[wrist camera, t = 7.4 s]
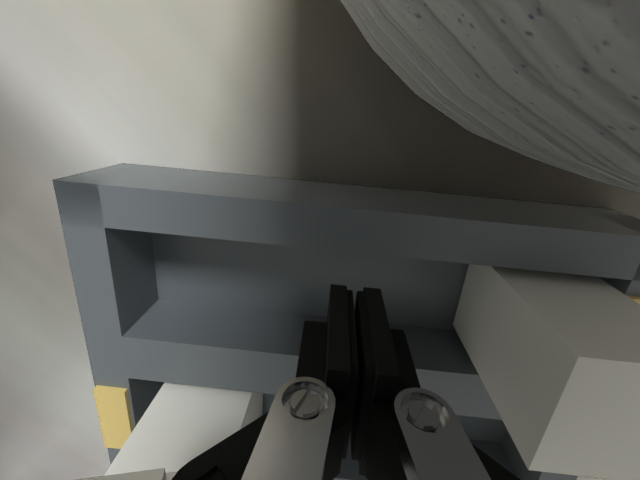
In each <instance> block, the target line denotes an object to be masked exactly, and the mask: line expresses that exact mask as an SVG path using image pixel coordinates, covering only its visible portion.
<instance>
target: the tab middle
mask: <svg viewBox="0 0 640 480" xmlns="http://www.w3.org/2000/svg"><path fill="white" fill-rule="evenodd" d="M262 409H263V393H256V392H247V391H238V390H229V389H220V388H211V387H202V386H193V385H184V384H175V383H166V382H164V384H163V386H162V387H161V389H160V390H159V392H158V393H157V395H156V396H155V398H154V399H153V401H152V402H151V404H150V405H149V407H148V408H147V410H146V411H145V413H144V415H143V416H142V418H141V419H140V421H139V422H138V424H137V425H136V427H135V428H134V430H133V431H132V433H131V434H130V436H129V437H128V439H127V441H126V442H125V444H124V445H123V447H122V448H121V450H120V451H119V453H118V454H117V456H116V457H115V459H114V460H113V462H112V463H111V465H110V467H109V468H108V470H107V471H106V473H105V474H104V476H107V475H114V474H122V473H129V472H137V471H145V470H152V469H160V468H165V472H166V473H170V472H177V471H179V469H180V468H182V467H183V466H184V465H185V464H187V463H188V462H189V461H191V460H192V459H194V458H195V457H197V456H199V455H200V454H202V453H203V452H205V451H207V450H208V449H210V448H211V447H213V446H215V445H216V444H218V443H219V442H221V441H222V440H224V439H226V438H227V437H229V436H230V435H232V434H234V433H235V432H237V431H238V430H240V429H242V428H243V427H245V426H246V425H248V424H250V423H251V422H253V421H254V420H256V419H258V418H259V417H261V416H262Z"/></svg>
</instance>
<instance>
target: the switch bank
mask: <svg viewBox="0 0 640 480" xmlns="http://www.w3.org/2000/svg"><path fill="white" fill-rule="evenodd" d="M53 184H54V189H55V194H56V198H57V203H58V208H59V213H60V218H61V223H62V228H63V233H64V237H65V242H66V247H67V252H68V257H69V262H70V267H71V272H72V277H73V281H74V286H75V291H76V296H77V301H78V306H79V311H80V316H81V320H82V325H83V330H84V335H85V340H86V345H87V350H88V355H89V360H90V364H91V369H92V374H93V379H94V384H95V388H94V389H93V391H94V396H95V400H96V405H97V410H98V415H99V420H100V424H101V429H102V434H103V439H104V444H105V447H107V448H108V452H109V457H110V462H111V463H112V462H113V460H114V459H115V457H116V456H117V454H118V453H119V451H120V450H121V448H122V447H123V445H124V444H125V442H126V441H127V439H128V437H129V436H130V434H131V433H132V431H133V430H134V428H135V427H136V425H137V424H138V422H139V421H140V419H141V418H142V416H143V415H144V413H145V411H146V410H147V408H148V407H149V405H150V404H151V402H152V401H153V399H154V398H155V396H156V395H157V393H158V392H159V390H160V389H161V387H162V386H163V384H164V382H166V383H175V384H184V385H193V386H202V387H211V388H220V389H229V390H238V391H247V392H256V393H263V409H262V415H264V414H266V413H267V412H269V410H270V408H271V405H272V403H273V401H274V398H275V396H276V393H277V391H278V390H279V388H280V387H281V386H282V385H283V384H284V383H285V382H287V381H289V380H291V379H293V378H296V372H297V365H298V359H299V352H300V346H301V339H302V333H303V326H304V321H305V320H307V321H317V322H327V314H328V304H329V294H330V285H331V284H335V285H346V286H347V290H353V301H354V309H355V302H356V295H357V291H363V288H364V287H367V288H378V289H381V293H382V297H383V301H384V306H385V310H386V314H387V318H388V323H389V327H390V329H401V330H403V331H404V333H405V336H406V339H407V342H408V346H409V349H410V353H411V356H412V359H413V363H414V366H415V370H416V373H417V376H418V380H419V383H420V387H421V388H423V389H426V390H429V391H432V392H434V393H435V394H437V395H439V396H440V397H442V398H443V399H444V400H445V401H446V402H447V403H448V404H449V405H450V407H451V408H452V409H453V411H454V413H455V415H456V416H457V418H458V420H459V422H460V424H461V426H462V427H463V429H464V431H465V433H466V435H467V436H468V438H469V440H470V442H471V443H472V444H473V445H475V446H476V447H477V448H479V449H480V450H481V451H483V452H484V453H485V454H487V455H488V456H489V457H491V458H492V459H493V460H495V461H496V462H497V463H499V464H500V465H501V466H503V467H504V468H505V469H507V470H508V471H509V472H511V473H512V474H513V475H515V476H516V477H517V478H519V479H520V480H576V479H577V477H578V476H575V475H567V474H558V473H549V472H541V471H532V470H528V469H527V467H526V465H525V463H524V461H523V459H522V457H521V455H520V453H519V451H518V449H517V447H516V445H515V444H514V442H513V440H512V438H511V436H510V434H509V432H508V430H507V428H506V426H505V424H504V422H503V420H502V419H501V417H500V415H499V413H498V411H497V409H496V407H495V405H494V403H493V401H492V399H491V397H490V395H489V393H488V392H487V390H486V388H485V386H484V384H483V382H482V380H481V378H480V376H479V374H478V372H477V370H476V368H475V367H474V365H473V363H472V361H471V359H470V357H469V355H468V353H467V351H466V349H465V347H464V345H463V343H462V342H461V340H460V338H459V336H458V334H457V332H456V330H455V328H454V326H453V322H454V318H455V314H456V311H457V307H458V303H459V299H460V296H461V292H462V288H463V284H464V281H465V277H466V273H467V269H468V266H469V264H474V265H484V266H494V267H504V268H514V269H524V270H535V271H545V272H555V273H565V274H575V275H585V276H595V277H599V278H600V279H602V280H603V281H605V282H606V283H608V284H610V285H611V286H613V287H614V288H616V289H617V290H619V291H620V292H622V293H623V294H625V295H627V296H628V297H630V298H631V299H633V300H634V301H636V302H637V303H639V304H640V220H639V219H637V218H634V217H631V216H628V215H626V214H623V213H620V212H617V211H615V210H612V209H603V208H592V207H582V206H571V205H560V204H550V203H539V202H528V201H518V200H507V199H497V198H486V197H475V196H465V195H454V194H443V193H433V192H422V191H411V190H401V189H390V188H379V187H369V186H358V185H348V184H337V183H326V182H316V181H305V180H294V179H284V178H273V177H262V176H252V175H241V174H231V173H220V172H209V171H199V170H188V169H177V168H167V167H156V166H145V165H135V164H124V163H122V164H118V165H113V166H109V167H105V168H101V169H97V170H92V171H88V172H84V173H80V174H76V175H71V176H67V177H63V178H59V179H54V180H53ZM333 480H368V479H367V478H366V477H365V475H359V464H358V461H357V460H352V459H351V441H350V436H349V442H348V448H347V455H346V459H342V462H341V468H340V474H339V475H337V476H336V477H335V478H334V479H333Z"/></svg>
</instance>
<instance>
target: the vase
mask: <svg viewBox="0 0 640 480" xmlns="http://www.w3.org/2000/svg"><path fill="white" fill-rule="evenodd" d="M340 1H341V2H342V4H343V5H344V7H345V8H346V10H347V11H348V13H349V14H350V16H351V17H352V19H353V20H354V22H355V24H356V25H357V27H358V28H359V30H360V31H361V33H362V34H363V36H364V37H365V39H366V40H367V42H368V43H369V45H370V46H371V48H372V49H373V50H374V51H375V52H376V53H377V54H378V55H379V56H380V58H381V59H382V60H383V61H384V62H385V63H386V64H387V65H388V66H389V67H390V68H391V69H392V70H393V71H394V72H395V73H396V74H397V75H398V76H399V77H400V78H401V79H402V80H403V82H404V83H405V84H406V85H407V86H408V87H409V88H410V89H411V90H412V91H413V92H414V93H415V94H416V95H418V96H419V97H421V98H422V99H423V100H425V101H426V102H428V103H429V104H431V105H432V106H433V107H435V108H436V109H438V110H439V111H441V112H442V113H443V114H445V115H446V116H448V117H449V118H451V119H452V120H453V121H455V122H456V123H458V124H459V125H461V126H462V127H463V128H465V129H466V130H468V131H469V132H471V133H474V134H476V135H478V136H480V137H483V138H485V139H487V140H490V141H492V142H494V143H497V144H499V145H501V146H503V147H506V148H508V149H510V150H513V151H515V152H517V153H519V154H522V155H524V156H527V157H529V158H532V159H535V160H538V161H541V162H543V163H546V164H549V165H552V166H555V167H557V168H560V169H563V170H566V171H569V172H571V173H574V174H577V175H580V176H583V177H585V178H588V179H592V180H595V181H599V182H602V183H606V184H609V185H613V186H616V187H619V188H623V189H626V190H630V191H633V192H637V193H640V0H340Z"/></svg>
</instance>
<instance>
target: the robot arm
mask: <svg viewBox="0 0 640 480" xmlns="http://www.w3.org/2000/svg"><path fill="white" fill-rule="evenodd" d="M349 436H350V441H351V459H352V460H357V461H358V464H359V475H365V477H366V478H367V479H368V480H520V479H519V478H517V477H516V476H515V475H513V474H512V473H511V472H509V471H508V470H507V469H505V468H504V467H503V466H501V465H500V464H499V463H497V462H496V461H495V460H493V459H492V458H491V457H489V456H488V455H487V454H485V453H484V452H483V451H481V450H480V449H479V448H477V447H476V446H475V445H473V444H472V443H471V442H470V440H469V438H468V436H467V435H466V433H465V431H464V429H463V427H462V426H461V424H460V422H459V420H458V418H457V416H456V415H455V413H454V411H453V409H452V408H451V407H450V405H449V404H448V403H447V402H446V401H445V400H444V399H443V398H442V397H440V396H439V395H437V394H435V393H434V392H432V391H429V390H426V389H423V388H421V387H420V383H419V380H418V376H417V373H416V370H415V366H414V363H413V359H412V356H411V353H410V349H409V346H408V342H407V339H406V336H405V333H404V331H403V330H401V329H390V327H389V323H388V318H387V314H386V310H385V306H384V301H383V297H382V293H381V289H378V288H367V287H364V288H363V291H357V295H356V302H355V309H354V301H353V290H347V286H346V285H335V284H331V285H330V294H329V304H328V314H327V322H317V321H307V320H305V321H304V326H303V333H302V339H301V346H300V352H299V359H298V365H297V372H296V378H293V379H291V380H289V381H287V382H285V383H284V384H283V385H282V386H281V387H280V388H279V390H278V391H277V393H276V396H275V398H274V401H273V403H272V405H271V408H270V410H269V412H267V413H266V414H264V415H262V416H261V417H259V418H258V419H256V420H254V421H253V422H251V423H250V424H248V425H246V426H245V427H243V428H242V429H240V430H238V431H237V432H235V433H234V434H232V435H230V436H229V437H227V438H226V439H224V440H222V441H221V442H219V443H218V444H216V445H215V446H213V447H211V448H210V449H208V450H207V451H205V452H203V453H202V454H200V455H199V456H197V457H195V458H194V459H192V460H191V461H189V462H188V463H187V464H185V465H184V466H183V467H182V468H180V469H179V471H177V472H170V473H166V472H165V468H160V469H152V470H145V471H137V472H129V473H122V474H114V475H107V476H99V477H91V478H84V479H76V480H333V479H334V478H335V477H336V476H337V475H339V474H340V468H341V462H342V459H346V455H347V448H348V442H349Z"/></svg>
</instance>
